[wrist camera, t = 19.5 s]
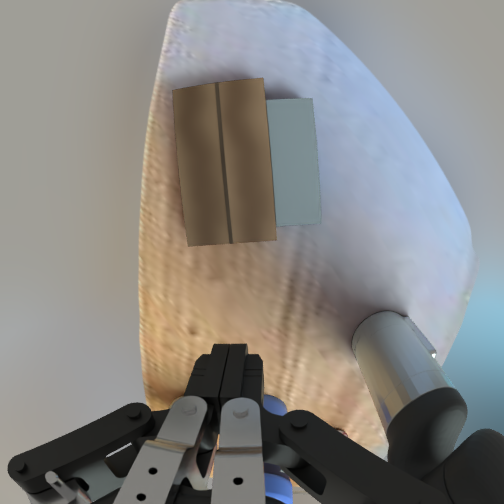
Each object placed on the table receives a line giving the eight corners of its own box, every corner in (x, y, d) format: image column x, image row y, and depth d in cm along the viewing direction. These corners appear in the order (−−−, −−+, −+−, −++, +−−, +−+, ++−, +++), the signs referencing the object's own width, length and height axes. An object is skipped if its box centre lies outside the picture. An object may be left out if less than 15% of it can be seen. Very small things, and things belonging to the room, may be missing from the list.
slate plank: (307, 105, 31) (312, 98, 28) (315, 217, 35) (321, 223, 32) (266, 107, 32) (266, 100, 28) (275, 220, 36) (276, 226, 32)
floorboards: (263, 87, 31) (263, 77, 27) (275, 232, 36) (276, 240, 32) (182, 97, 31) (172, 90, 28) (195, 238, 36) (187, 246, 33)
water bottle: (239, 428, 46) (226, 546, 23) (228, 395, 44) (206, 530, 20) (290, 424, 46) (295, 545, 22) (285, 390, 43) (291, 530, 19)
